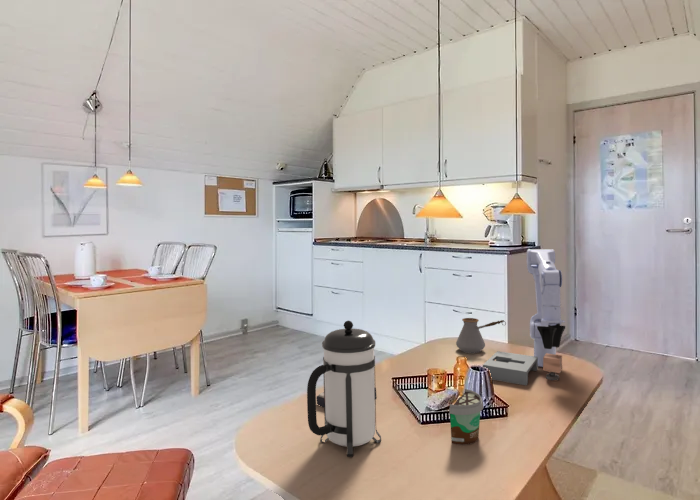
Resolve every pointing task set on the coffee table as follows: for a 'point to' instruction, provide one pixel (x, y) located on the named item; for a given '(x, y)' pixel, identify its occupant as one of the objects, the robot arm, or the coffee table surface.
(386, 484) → the coffee table surface
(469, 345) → the coffee pot
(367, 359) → the coffee press
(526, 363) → the keyhole plate
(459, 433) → the food container
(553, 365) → the peg
